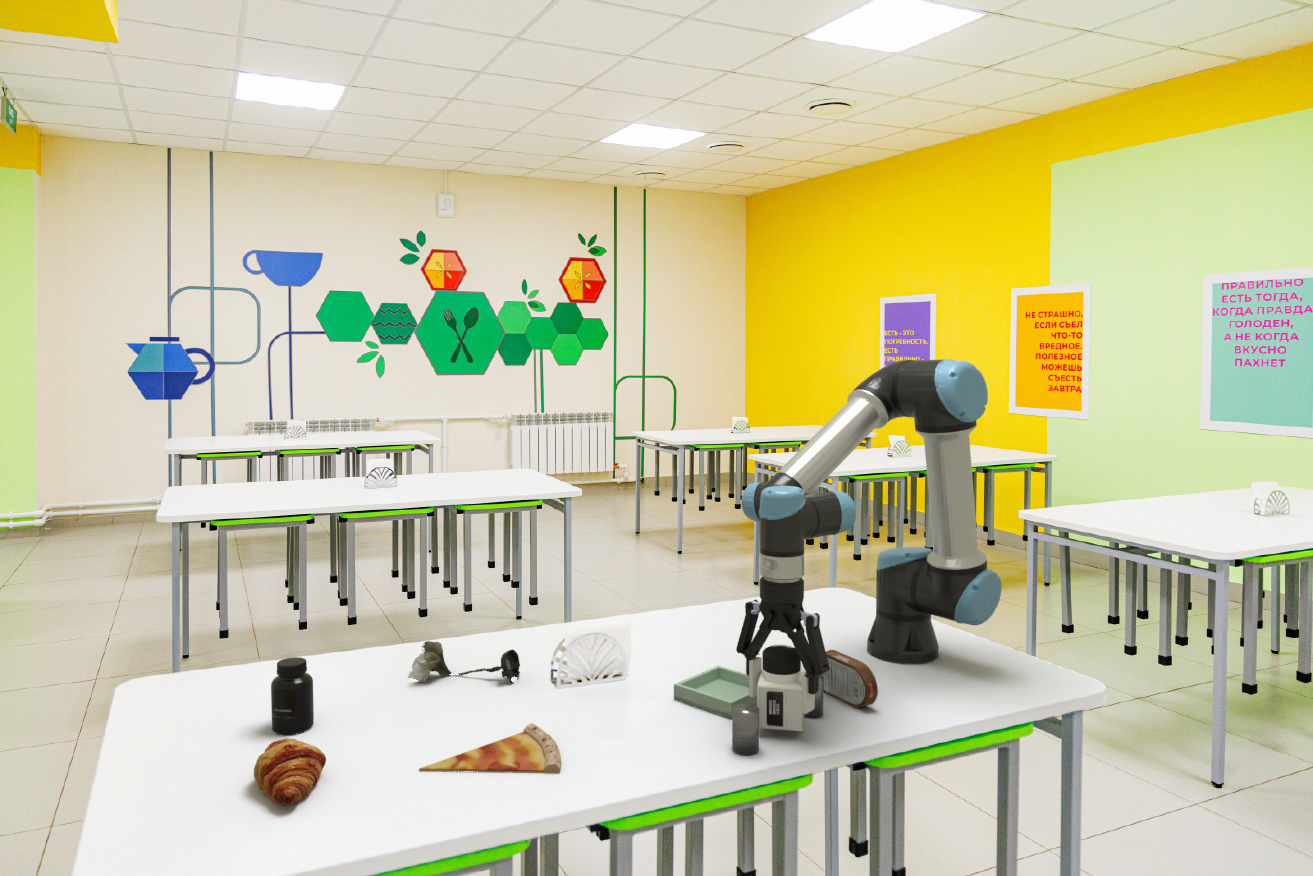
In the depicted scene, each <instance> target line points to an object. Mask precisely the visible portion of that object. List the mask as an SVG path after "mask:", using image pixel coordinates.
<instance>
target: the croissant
mask: <svg viewBox="0 0 1313 876" xmlns="http://www.w3.org/2000/svg"><path fill="white" fill-rule="evenodd" d="M326 762H327V758H326V755H325V753H324V752H323V751H322V750H321V749H320V748H319V747H317V746H315V745H313V744H310V743H306V742H304V741H301V740H299V739H298V740H297V739H295V738H289V737H287V738H286V737H285V738H282V739H278V740H275V741H272V742H271V743H269V744H268V746H267V747H266V748H265V749H264V752H263V753H261V754H259V756H258V758H257V759H256V763H255V764H254V767H253V778H254V780H255V782H256V783H257V786H258V789H259V791H261V793H262V794H263V795H265V796H267V797H268V798H270V799H271V800H273V802H274V803H275V804H278V805H280V806H289V805H292V804H294V803H296V802H298V801H300V800H303V799H304V798H306V797H307V796H309V794H310V793H311V792H312V789H313V788H314V787H315V786H316V785H317V784H318V781H319V779H320V776H321V773H322V772H323V770H324V767H325V765H326V764H327V763H326Z"/></svg>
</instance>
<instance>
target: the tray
mask: <svg viewBox="0 0 1313 876" xmlns="http://www.w3.org/2000/svg"><path fill="white" fill-rule="evenodd" d="M673 700H674V701H676V700H678V701H677V702H679V701H681V702H680V703H682V702H683V703H682V704H685V705H688V706H691V705H692V706H691V707H694V706H695V707H694V708H697V709H700V710H703V711H706V712H709V713H712V714H714V715H717V716H720V717H723V718H727V719H729V720H732V708H733V706H735V705H737V704H752V705H755V706H757V695H756V696H754V697H750V696H749V676H747V674H746V672H741V671H737V670H734V669H731V668H727V667H724V666H720V665H716V666H715V667H713V668H710V669H707V670H705V671H703V672H700V673H697V674H695V675H693V676H690V677H688V678H685V679H683V680H681V681H679V682H676V683H674V684H673Z"/></svg>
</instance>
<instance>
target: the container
mask: <svg viewBox="0 0 1313 876" xmlns="http://www.w3.org/2000/svg"><path fill="white" fill-rule="evenodd" d="M801 663H802V662H801V660H800V658H799V656H798V653H797V651H796V649H795V647H794V646H792V645H789V644H774V645H771V646H767V647H765V648H764V649H763V650H762V670H761V673H760V677H759V681H758V685H757V707H758V708H759V729H766V730H767V729H768V730H778V731H779V730H780V731H793V732H803V729H804V721H805V717H804V713H802V675H804V674H805V673H804V672H805V671H804V672H803V671H801V667H802V665H801Z"/></svg>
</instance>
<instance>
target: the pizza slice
mask: <svg viewBox="0 0 1313 876" xmlns="http://www.w3.org/2000/svg"><path fill="white" fill-rule="evenodd" d="M561 769H562V757H561V752H560V749H559V746H558V745H557V742H556V741H555V740H554V738H553V737H552V736H551V735H549V733H547V732H546V731H545V730H543V729H542V728H541V727H539V726H537V725H536V724H534V723H529V724H527V725H526V726H525V727H524V728H523V731H522V732H520V733H519V732H518V733H517V734H513V735H511V736H508V737H504V738H502V739H498V740H496V741H494V742H490V743H487V744H484V745H482V746H480V747H476V748H474V749H471V750H467V751H465V752H462V753H460V754H457V755H454V756H451V757H448V758H445V759H442V760H439V761H436V762H433V763H431V764H428V765H425V766H423V767H420V768H419V769H418V771H419V772H435V771H436V772H438V771H439V772H440V771H441V772H443V773H444V772H446V773H447V772H448V773H450V772H452V773H455V771H456V773H464V772H463V771H470V772H469V773H505V772H512V773H513V772H514V773H513V774H515V773H519V774H520V773H521V774H522V773H523V774H536V773H537V774H561V773H560V772H561ZM449 771H450V772H449ZM453 771H454V772H453ZM458 771H459V772H458ZM461 771H462V772H461ZM471 771H473V772H471ZM474 771H475V772H474ZM477 771H478V772H477ZM441 772H440V773H441Z"/></svg>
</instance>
